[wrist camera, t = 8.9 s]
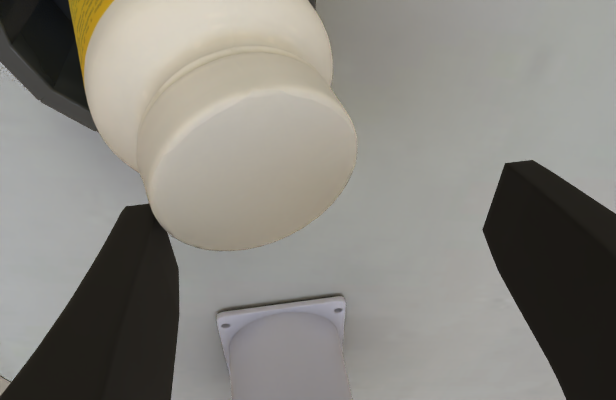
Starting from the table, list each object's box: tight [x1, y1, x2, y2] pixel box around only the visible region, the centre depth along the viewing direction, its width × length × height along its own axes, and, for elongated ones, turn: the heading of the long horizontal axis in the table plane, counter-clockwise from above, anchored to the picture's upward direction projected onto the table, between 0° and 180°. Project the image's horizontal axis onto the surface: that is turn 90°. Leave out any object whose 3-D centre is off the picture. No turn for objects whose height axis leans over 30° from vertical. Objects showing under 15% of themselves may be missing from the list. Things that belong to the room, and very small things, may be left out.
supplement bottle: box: [68, 0, 358, 251], centre depth 12 cm, size 5×5×10 cm
